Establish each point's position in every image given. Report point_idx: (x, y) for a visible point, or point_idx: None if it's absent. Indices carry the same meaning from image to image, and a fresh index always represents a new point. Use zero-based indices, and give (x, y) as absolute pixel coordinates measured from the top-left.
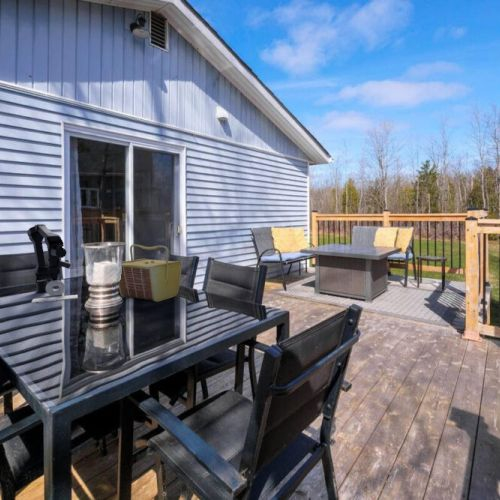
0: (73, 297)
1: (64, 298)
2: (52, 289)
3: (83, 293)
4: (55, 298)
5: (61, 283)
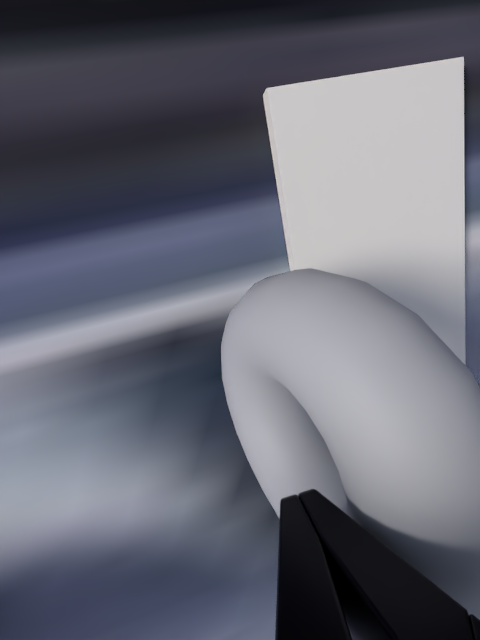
0: (440, 121)
1: (448, 232)
2: (325, 459)
3: (105, 7)
4: None
5: (451, 352)
